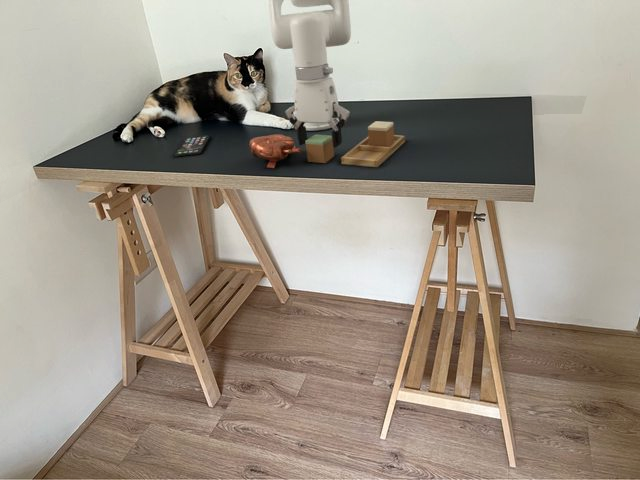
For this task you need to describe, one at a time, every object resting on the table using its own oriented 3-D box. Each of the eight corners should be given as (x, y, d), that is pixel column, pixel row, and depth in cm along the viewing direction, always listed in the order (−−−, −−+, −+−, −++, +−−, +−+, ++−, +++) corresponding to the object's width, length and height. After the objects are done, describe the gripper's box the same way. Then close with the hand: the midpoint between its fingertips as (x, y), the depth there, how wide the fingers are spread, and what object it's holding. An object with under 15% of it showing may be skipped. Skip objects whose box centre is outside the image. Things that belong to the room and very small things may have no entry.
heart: (239, 141, 122) (296, 149, 118) (258, 128, 132) (311, 135, 128) (239, 163, 124) (295, 172, 121) (258, 149, 135) (310, 157, 131)
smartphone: (174, 154, 138) (185, 137, 151) (174, 157, 138) (186, 139, 151) (200, 152, 138) (209, 135, 151) (200, 154, 138) (210, 137, 151)
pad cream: (368, 147, 128) (367, 127, 125) (376, 141, 131) (375, 121, 128) (386, 149, 125) (386, 128, 123) (394, 142, 129) (393, 122, 126)
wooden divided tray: (341, 163, 121) (340, 157, 120) (371, 139, 134) (371, 133, 134) (377, 167, 116) (377, 161, 116) (405, 141, 130) (405, 135, 129)
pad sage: (307, 161, 125) (305, 140, 122) (317, 154, 128) (315, 134, 125) (325, 163, 122) (322, 142, 119) (334, 156, 126) (332, 135, 123)
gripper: (352, 69, 113) (357, 141, 121) (289, 70, 121) (298, 138, 129) (337, 76, 107) (344, 151, 115) (272, 77, 116) (282, 147, 123)
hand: (319, 144), depth 122 cm, fingers open, 9 cm apart
